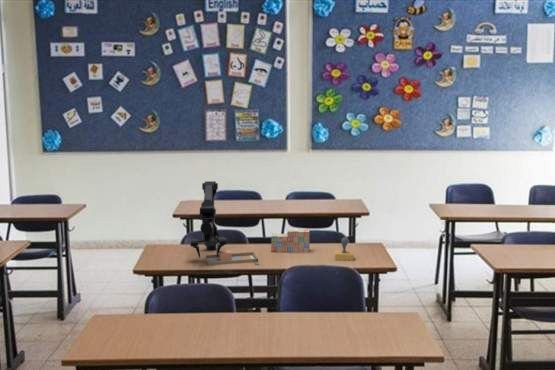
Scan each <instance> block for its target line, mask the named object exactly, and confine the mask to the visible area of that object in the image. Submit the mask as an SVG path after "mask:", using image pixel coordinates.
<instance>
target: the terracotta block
mask: <svg viewBox="0 0 555 370" xmlns="http://www.w3.org/2000/svg"><path fill="white" fill-rule="evenodd" d="M219 259H220V261H226V260H232V251H231V250H230V249H229V250H225V249H224V250H220V251H219Z"/></svg>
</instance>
